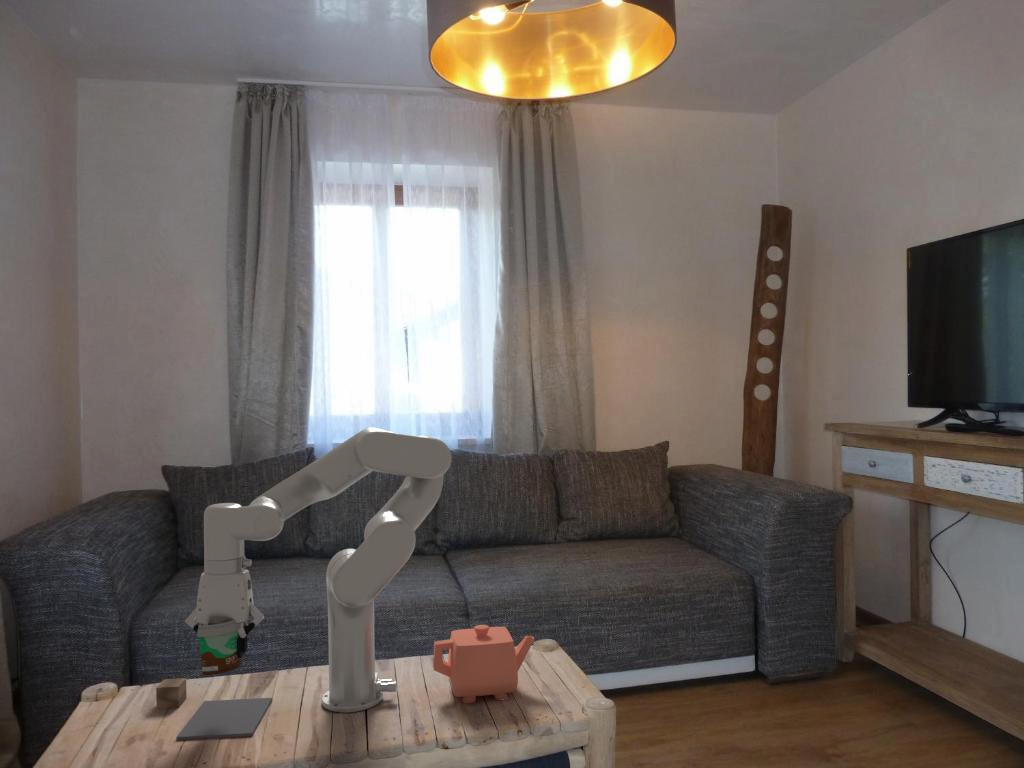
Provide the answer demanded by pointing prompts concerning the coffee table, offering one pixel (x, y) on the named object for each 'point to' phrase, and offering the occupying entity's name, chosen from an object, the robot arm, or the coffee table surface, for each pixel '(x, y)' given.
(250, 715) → the mat
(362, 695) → the robot arm
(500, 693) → the teapot
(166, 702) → the walnut block
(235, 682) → the coffee table surface
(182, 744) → the coffee table surface
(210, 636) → the food container
